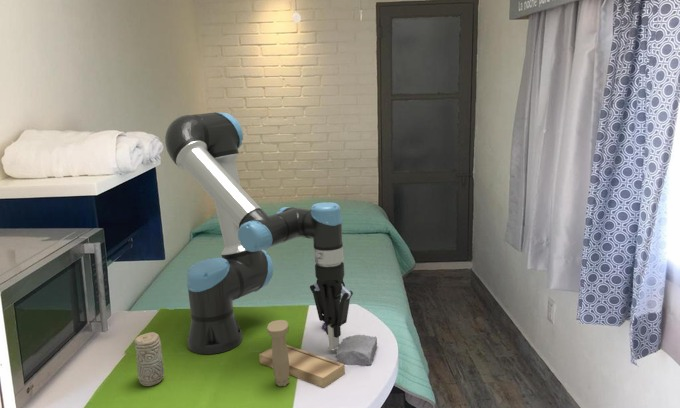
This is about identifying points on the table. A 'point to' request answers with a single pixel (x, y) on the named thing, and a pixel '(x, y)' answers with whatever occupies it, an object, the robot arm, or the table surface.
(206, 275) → the robot arm
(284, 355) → the handle
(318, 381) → the oak board
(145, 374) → the carving
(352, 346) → the stone block
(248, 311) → the table surface
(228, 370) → the table surface
